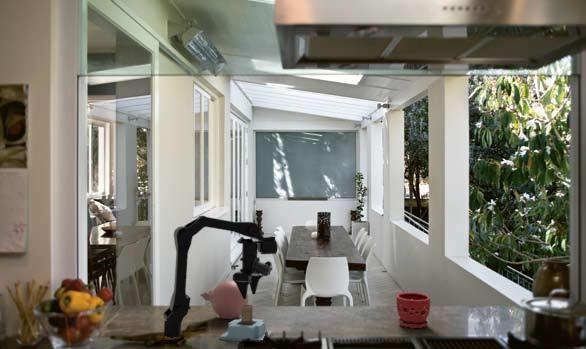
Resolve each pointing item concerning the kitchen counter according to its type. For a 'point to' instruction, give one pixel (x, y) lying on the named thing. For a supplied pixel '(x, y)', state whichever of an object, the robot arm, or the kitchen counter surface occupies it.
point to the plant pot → (413, 309)
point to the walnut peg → (247, 315)
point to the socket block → (245, 330)
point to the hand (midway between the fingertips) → (249, 296)
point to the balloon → (226, 300)
